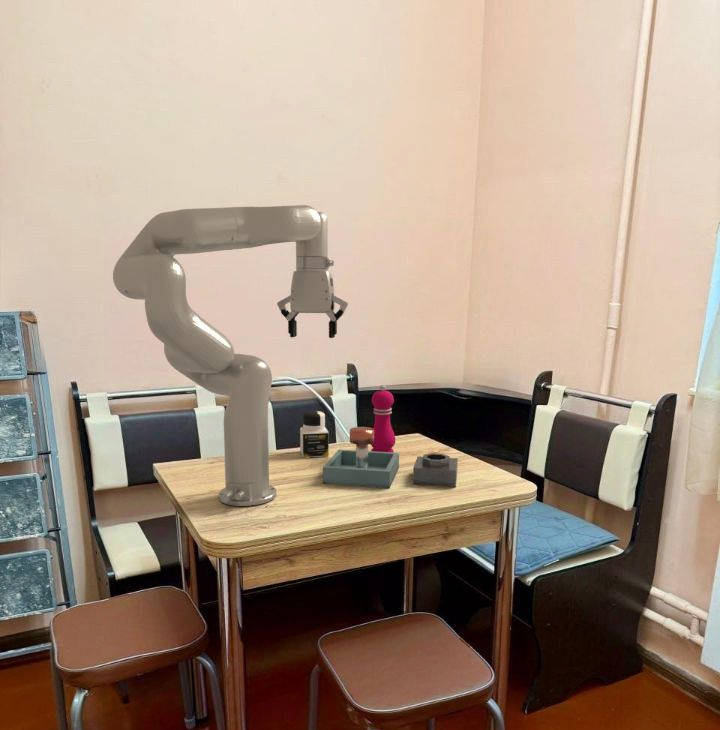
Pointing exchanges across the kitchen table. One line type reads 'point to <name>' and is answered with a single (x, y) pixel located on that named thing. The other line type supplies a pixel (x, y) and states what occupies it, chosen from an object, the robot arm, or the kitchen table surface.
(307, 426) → the medicine bottle
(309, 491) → the kitchen table surface
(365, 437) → the rounded copper knob
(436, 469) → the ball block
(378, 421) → the pepper mill
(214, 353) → the robot arm
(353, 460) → the tray
